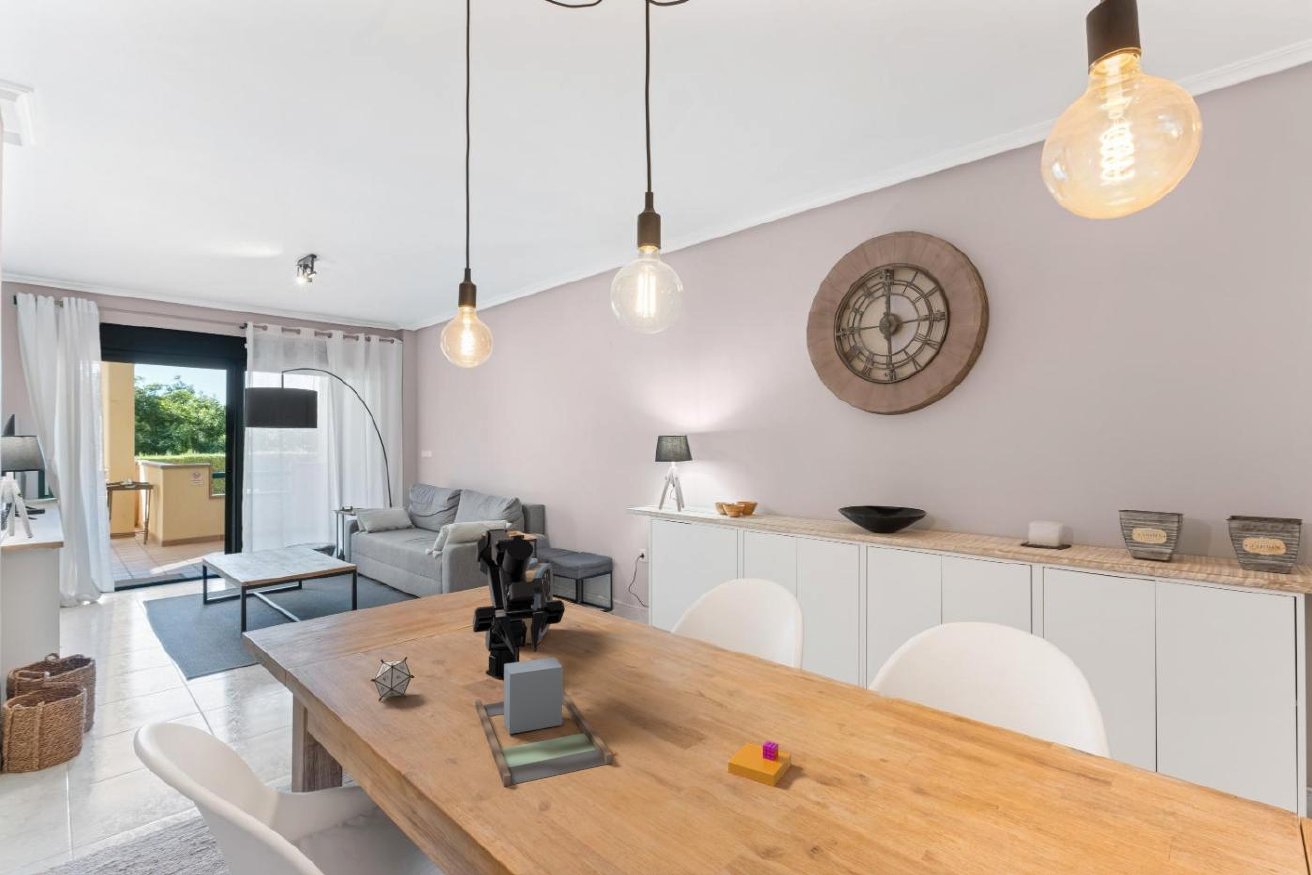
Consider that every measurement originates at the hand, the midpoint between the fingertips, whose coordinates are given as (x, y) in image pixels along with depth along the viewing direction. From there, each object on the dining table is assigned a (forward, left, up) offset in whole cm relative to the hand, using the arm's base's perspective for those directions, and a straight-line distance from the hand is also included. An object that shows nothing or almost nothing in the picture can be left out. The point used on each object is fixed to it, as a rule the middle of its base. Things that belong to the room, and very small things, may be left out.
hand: (524, 652), depth 126 cm
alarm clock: (-33, -37, -12) cm, 50 cm away
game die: (+13, -27, -12) cm, 32 cm away
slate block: (+4, +7, -12) cm, 14 cm away
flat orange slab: (-9, +49, -12) cm, 51 cm away
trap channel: (+5, +10, -12) cm, 16 cm away
